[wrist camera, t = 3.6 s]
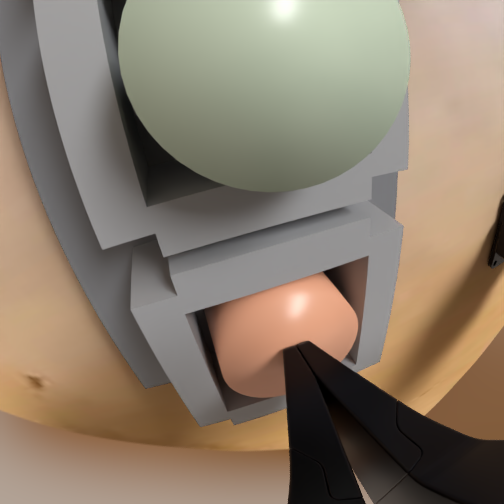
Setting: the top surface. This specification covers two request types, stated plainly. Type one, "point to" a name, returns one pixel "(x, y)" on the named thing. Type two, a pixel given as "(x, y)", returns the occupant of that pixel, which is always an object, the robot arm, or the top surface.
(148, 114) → the sage button
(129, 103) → the button panel
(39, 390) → the top surface
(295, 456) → the robot arm
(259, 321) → the terracotta button
